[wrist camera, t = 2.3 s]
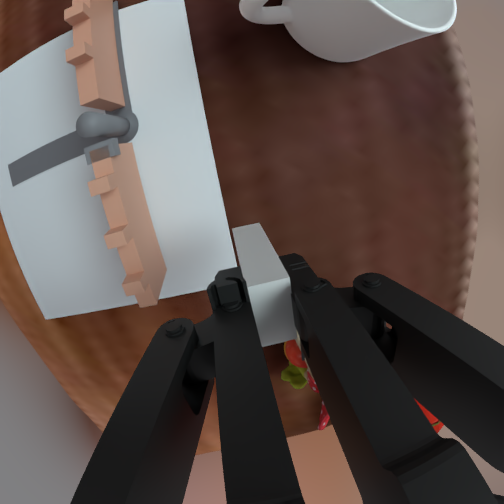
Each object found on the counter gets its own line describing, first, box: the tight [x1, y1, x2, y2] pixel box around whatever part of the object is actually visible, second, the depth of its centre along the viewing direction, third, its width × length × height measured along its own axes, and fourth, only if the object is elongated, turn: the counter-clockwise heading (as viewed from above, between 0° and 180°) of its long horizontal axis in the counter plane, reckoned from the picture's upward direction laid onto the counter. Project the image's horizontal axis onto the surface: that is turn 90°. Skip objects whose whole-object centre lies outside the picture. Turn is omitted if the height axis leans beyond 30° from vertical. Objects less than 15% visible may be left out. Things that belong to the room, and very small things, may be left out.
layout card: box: [0, 0, 237, 320], centre depth 18 cm, size 25×20×1 cm
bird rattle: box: [281, 330, 330, 430], centre depth 22 cm, size 6×11×9 cm
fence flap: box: [84, 138, 167, 308], centre depth 17 cm, size 10×2×6 cm, turn 10°
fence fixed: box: [64, 0, 130, 137], centre depth 12 cm, size 12×1×7 cm, turn 10°
